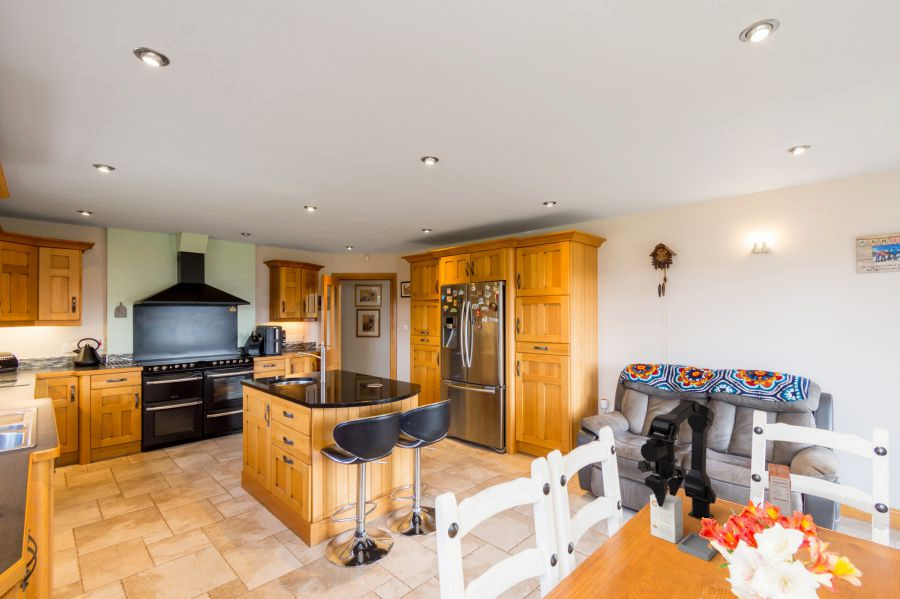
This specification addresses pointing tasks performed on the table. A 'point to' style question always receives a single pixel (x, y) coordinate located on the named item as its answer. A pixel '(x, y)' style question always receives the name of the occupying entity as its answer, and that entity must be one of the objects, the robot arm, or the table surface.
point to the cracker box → (780, 488)
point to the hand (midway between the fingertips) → (666, 502)
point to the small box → (667, 518)
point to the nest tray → (697, 546)
